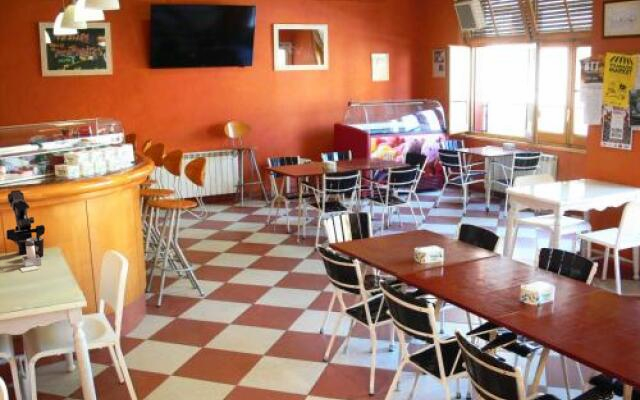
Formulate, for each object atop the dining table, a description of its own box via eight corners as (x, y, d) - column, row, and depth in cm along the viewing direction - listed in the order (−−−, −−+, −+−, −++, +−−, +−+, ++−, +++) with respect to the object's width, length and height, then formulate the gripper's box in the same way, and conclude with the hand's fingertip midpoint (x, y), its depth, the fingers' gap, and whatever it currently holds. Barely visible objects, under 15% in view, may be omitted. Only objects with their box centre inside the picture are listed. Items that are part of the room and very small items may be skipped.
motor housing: (23, 264, 349) (22, 256, 348) (38, 261, 353) (37, 254, 353) (25, 267, 343) (25, 260, 342) (41, 264, 347) (40, 257, 346)
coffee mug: (48, 254, 367) (46, 237, 365) (40, 259, 358) (38, 241, 356) (28, 254, 368) (26, 237, 366) (20, 259, 359) (18, 241, 357)
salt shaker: (27, 264, 349) (24, 241, 346) (35, 262, 351) (33, 240, 349) (28, 266, 345) (26, 243, 343) (37, 264, 348) (34, 241, 345)
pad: (19, 268, 341) (19, 268, 341) (35, 266, 345) (35, 265, 345) (22, 272, 335) (22, 271, 335) (38, 269, 339) (38, 268, 339)
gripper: (4, 215, 345) (10, 239, 338) (42, 210, 355) (48, 233, 348) (3, 227, 353) (9, 251, 346) (40, 221, 363) (47, 245, 356)
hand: (29, 245), depth 348 cm, fingers open, 9 cm apart
